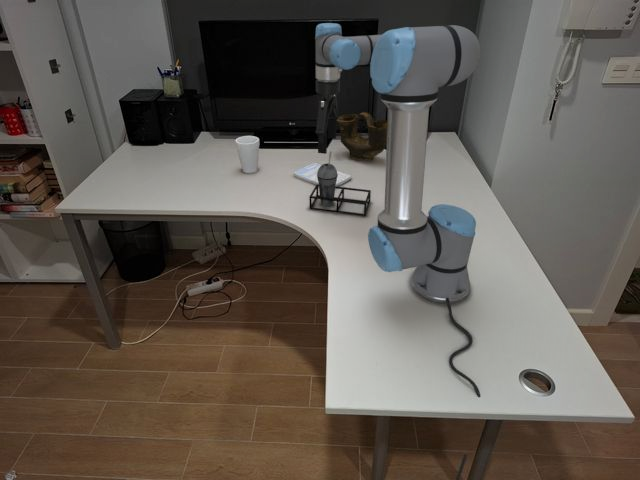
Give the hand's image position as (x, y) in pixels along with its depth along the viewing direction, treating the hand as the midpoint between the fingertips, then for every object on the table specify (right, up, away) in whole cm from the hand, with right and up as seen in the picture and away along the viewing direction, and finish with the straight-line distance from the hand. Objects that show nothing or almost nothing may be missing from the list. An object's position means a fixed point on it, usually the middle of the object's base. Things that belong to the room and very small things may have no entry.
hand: (327, 145), depth 148 cm
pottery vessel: (+16, +5, +48) cm, 50 cm away
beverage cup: (0, -19, +12) cm, 23 cm away
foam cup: (-32, -2, +37) cm, 49 cm away
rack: (+5, -19, +11) cm, 23 cm away
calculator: (-2, -7, +31) cm, 32 cm away
